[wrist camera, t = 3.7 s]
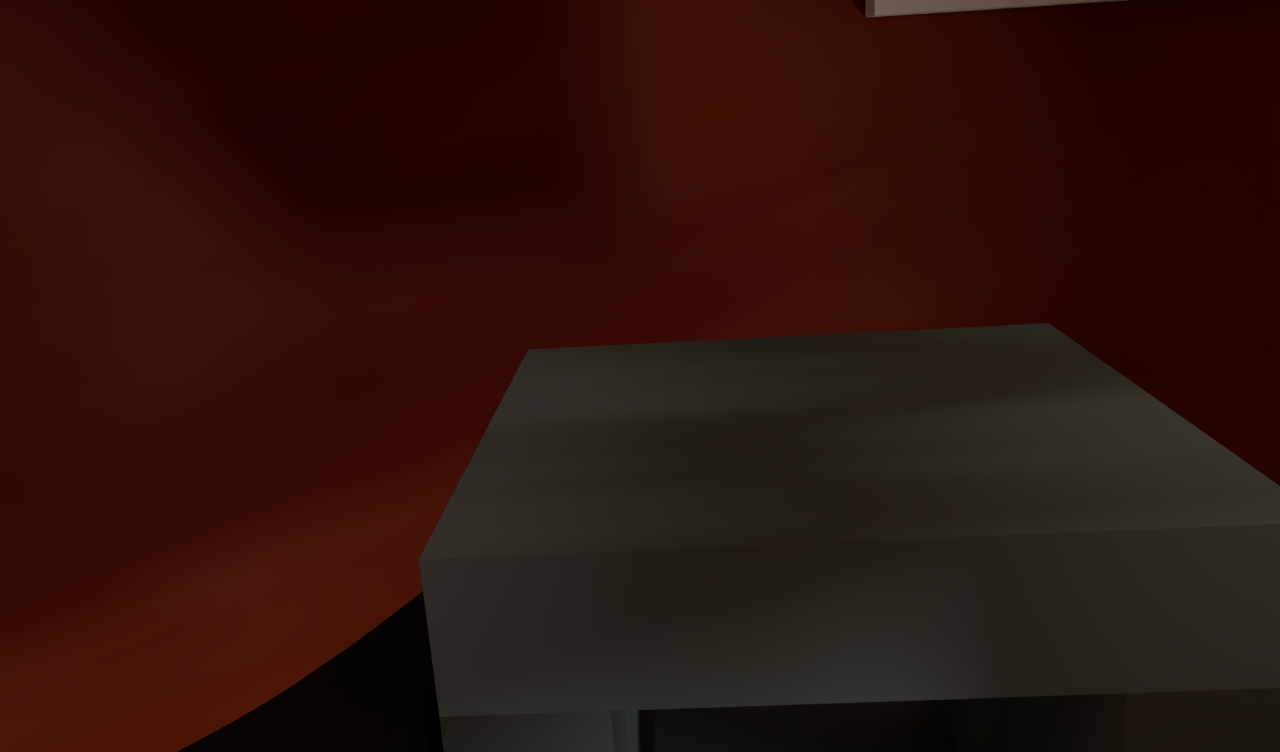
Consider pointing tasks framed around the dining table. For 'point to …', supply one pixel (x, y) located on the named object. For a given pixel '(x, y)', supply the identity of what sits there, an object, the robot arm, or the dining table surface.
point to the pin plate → (955, 5)
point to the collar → (852, 555)
